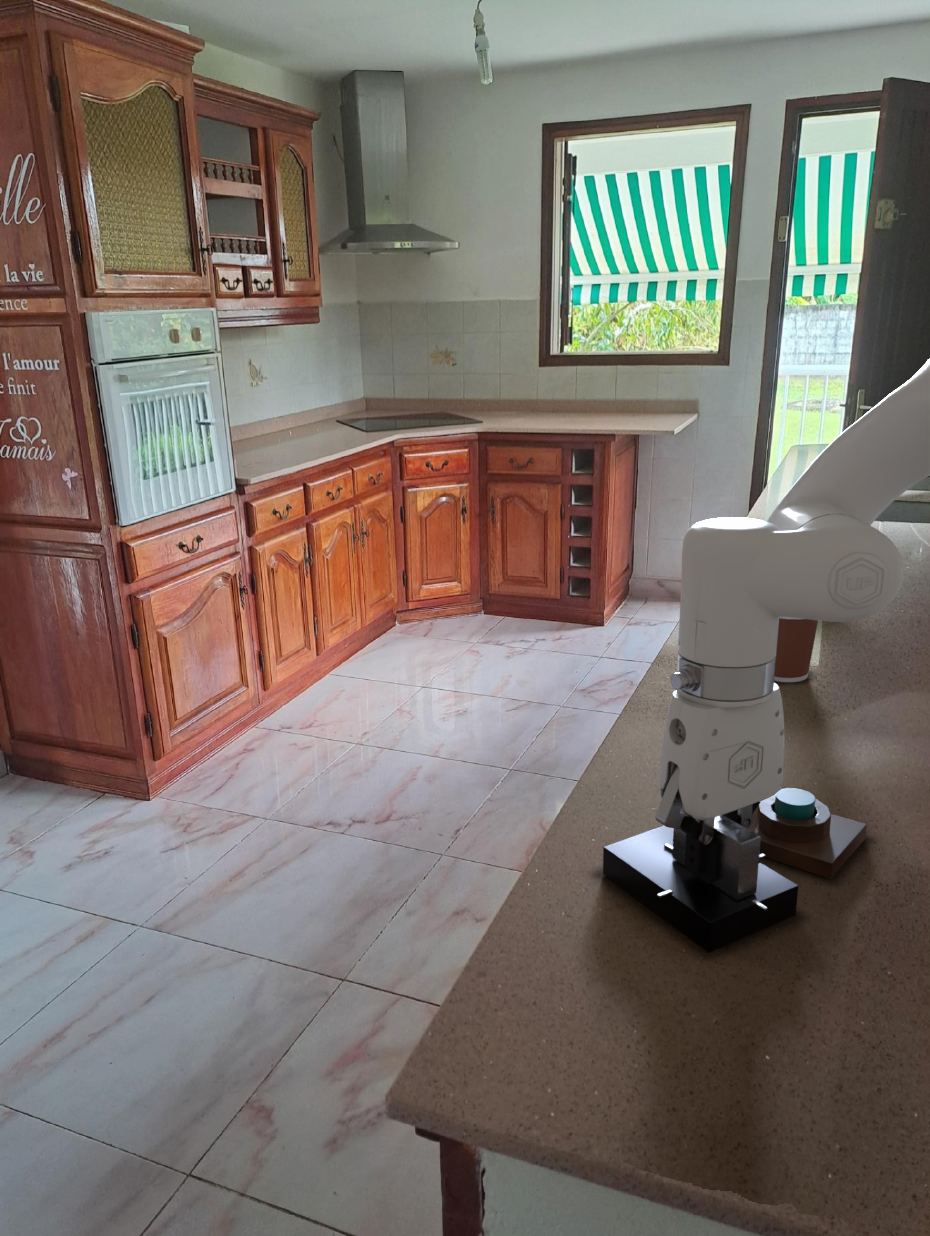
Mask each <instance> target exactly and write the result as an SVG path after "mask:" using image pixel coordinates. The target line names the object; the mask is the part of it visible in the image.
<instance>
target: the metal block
mask: <svg viewBox="0 0 930 1236" xmlns="http://www.w3.org/2000/svg"><path fill="white" fill-rule="evenodd" d="M680 811H681V810H680ZM695 820H696V821H697V822H699V820H697V819H695ZM712 840H714V841H716V842H717V843H718V853H717V869H716V879H715V882H713V883H711V884H712V885H714V886H715V887H717V888H718V889H720V890H721V891H723V892H725V893H726V894H728V895H729V896H731V897H732V898H734V899H735V900H737V901H738V900H740V899H743V898H745V897H748V896H750V895H753V894H755V893H756V890H757V877H758V865H759V862H760V859H759V852H760V840H761V836H759V835H757V834H755V833H754V832H752V831H750V830H748V829H747V828H745V827H743V826H741V825H740V824H738V823H736V822H734V821H733V820H731V819H729V818H727V817H726V816H724V815H721V816H718V817H715V821H714V832H713V839H712ZM685 850H686V833H684V832H683V831H681V829H675V828H674V832H673V855H672V858H673V859H674V860H676V861H678V862H679V863H681V864H682V865H684V866H685Z"/></svg>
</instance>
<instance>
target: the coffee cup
mask: <svg viewBox="0 0 930 1236" xmlns="http://www.w3.org/2000/svg"><path fill="white" fill-rule="evenodd" d="M818 624H819V621H818V620H810V619H802V618H793V617H783V616H780V617H779V626H778V638H777V650H776V663H775V675H774V682H780V683H796V682H802V681H805V680H807V679H808V677H809V672H810V667H811V661H812V656H813V650H814V645H815V639H816V636H817V635H816V634H817V629H818Z"/></svg>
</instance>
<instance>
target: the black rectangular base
mask: <svg viewBox="0 0 930 1236" xmlns="http://www.w3.org/2000/svg"><path fill="white" fill-rule="evenodd" d="M673 832H674V828H669V827H666V826H664V825H661V826H659V827H656V828H653V829H651V830H647V831H643V832H641V833H639V834H636V835H633V836H630V837H628V838H625V839H622V840H619V841H616V842H613V843H611V844H608V845H605V846H603V847H602V848H603V849H602V852H603V853H602V875H603V876H604V877H606V878H607V879H608V880H610V881H611V882H613V883H614V884H615V885H617V886H618V887H619V888H621V889H622V890H623V891H625V892H626V893H627V894H629V895H630V896H632V897H633V898H634V900H635V899H636V900H637V901H638V902H639V903H641V904H642V905H644V906H645V907H646V908H647V909H649V910H650V911H651V912H653V913H654V914H656V915H657V916H658V917H660V918H661V919H662V920H663V921H664V922H666V923H667V924H669V925H670V926H672V927H673V928H674V929H676V930H677V931H679V933H681V934H682V935H684V937H686V938H688V939H689V940H690V941H692V942H693V943H694V944H696V945H697V946H698V947H700V948H701V949H703V950H704V951H705V952H706V953H711V952H714V951H717V950H718V949H721V948H723V947H725V946H728V945H730V944H733V943H734V942H737V941H740V940H741V939H744V938H746V937H748V936H751V935H753V934H755V933H758V932H760V931H762V930H765V929H767V928H770V927H771V926H773V925H776V924H778V923H781V922H783V921H785V920H787V919H789V918H792V917H795V916H797V908H798V907H797V906H798V898H799V887H800V886H799V885H798V884H797V883H795V882H794V881H792V880H790V879H789V878H787V877H785V876H784V875H781V874H780V873H779V872H777V871H775V870H773V869H771V868H770V867H769V866H767V865H765V864H763V862H760V861H759V865H758V877H757V890H756V893H755V894H753V895H750V896H748V897H745V898H743V899H740V900H738V901H737V900H735V899H734V898H732V897H731V896H729V895H728V894H726V893H725V892H723V891H721V890H720V889H718V888H717V887H715V886H714V885H712V884H711V883H710V884H708V883H706V882H704V881H703V880H701V879H700V878H698V877H697V876H695V875H694V874H692V873H691V872H689V871H688V870H687V869H686V868H685V866H684V865H682V864H681V863H679V862H678V861H676V860H674V859H673V858H672V855H673ZM762 858H766V857H765V854H763V853H762V854H760V855H759V860H760V859H762Z"/></svg>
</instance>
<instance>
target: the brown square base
mask: <svg viewBox="0 0 930 1236" xmlns="http://www.w3.org/2000/svg"><path fill="white" fill-rule="evenodd" d="M775 796H776V794H775V795H773V796H772V797H770V798H767V799H765V800H762V801H761V802H760V804H759V805H758V807H757V808H756V810H755V811H754V813H753V814H752V824H751V826H750V828H749V829H748V830H750V831H752V832H754V833H755V834H757V835H759V836H761V840H760V852H759V855H760V854H762V853H763V854H765V857H764V858H766V859H768V860H772V861H775V862H777V863H781V864H784V865H786V866H790V867H792V868H796V869H798V870H801V871H804V872H808V873H811V874H814V875H817V876H820V877H823V878H825V879H828V880H832V878H833V877H834V875H835V874H836V873H837V872H838V871H839V870H840V869H841V868H842V866H843V865H844V864H845V863H846V862H847V861H848V860H849V858H850V857H851V856H852V855H853V854H854V853H855V852H856V850H858V848H859V847H860V846H861V844H862V843H863V842H864V841H865V840H866V837H867V828H868V823H864V822H862V821H857V820H855V819H851V818H848V817H845V816H840V815H837V814H834V813H831V811H830V808H829V806H828V805H826V804H825V803H823V802H821V801H820V800H819V799H816V798H815V809H814V816H813V818H811V819H807V820H793V819H788V818H785V817H781V816H779V815H778V814H776V813H775V811H774V808H775Z"/></svg>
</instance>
